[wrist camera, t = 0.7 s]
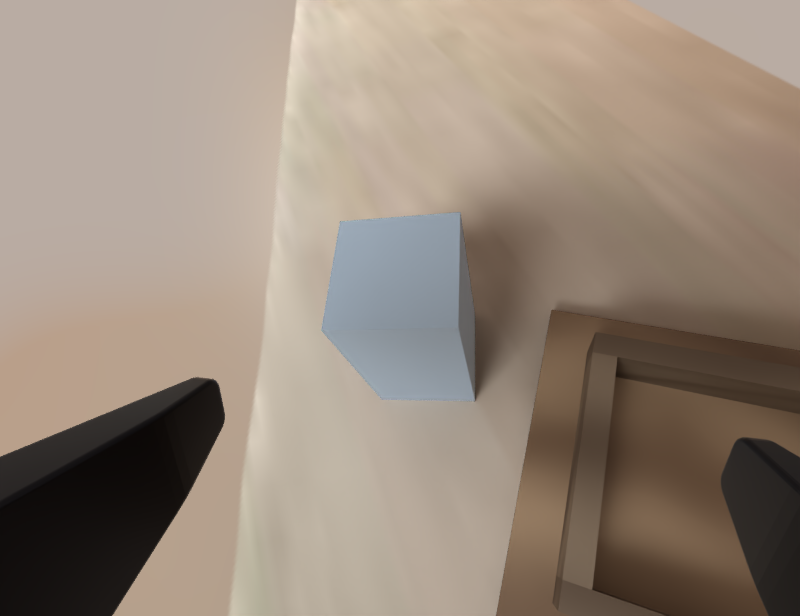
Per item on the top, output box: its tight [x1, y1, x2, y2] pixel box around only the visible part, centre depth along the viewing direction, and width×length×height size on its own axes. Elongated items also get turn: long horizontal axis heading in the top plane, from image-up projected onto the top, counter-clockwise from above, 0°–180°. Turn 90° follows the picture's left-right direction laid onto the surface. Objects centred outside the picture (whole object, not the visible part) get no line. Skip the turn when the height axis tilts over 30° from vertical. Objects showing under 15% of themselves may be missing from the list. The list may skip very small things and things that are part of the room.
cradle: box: [496, 310, 800, 616], centre depth 17 cm, size 15×15×3 cm
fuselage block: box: [321, 212, 475, 401], centre depth 21 cm, size 5×5×9 cm
